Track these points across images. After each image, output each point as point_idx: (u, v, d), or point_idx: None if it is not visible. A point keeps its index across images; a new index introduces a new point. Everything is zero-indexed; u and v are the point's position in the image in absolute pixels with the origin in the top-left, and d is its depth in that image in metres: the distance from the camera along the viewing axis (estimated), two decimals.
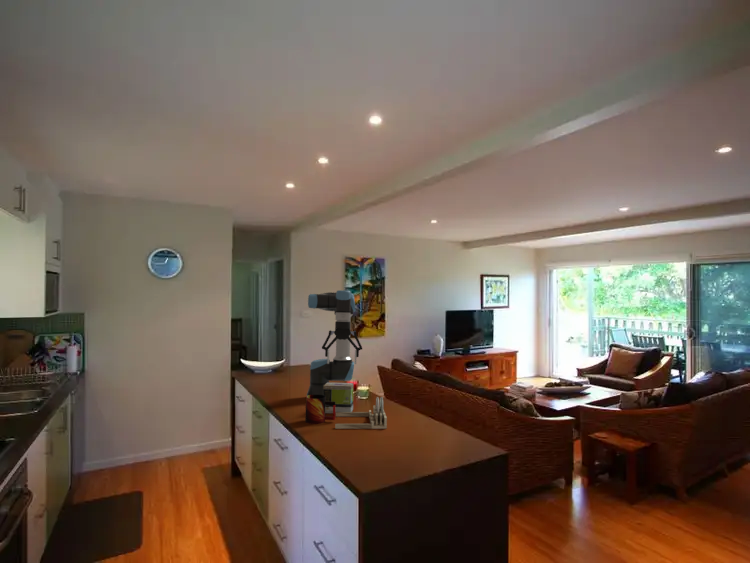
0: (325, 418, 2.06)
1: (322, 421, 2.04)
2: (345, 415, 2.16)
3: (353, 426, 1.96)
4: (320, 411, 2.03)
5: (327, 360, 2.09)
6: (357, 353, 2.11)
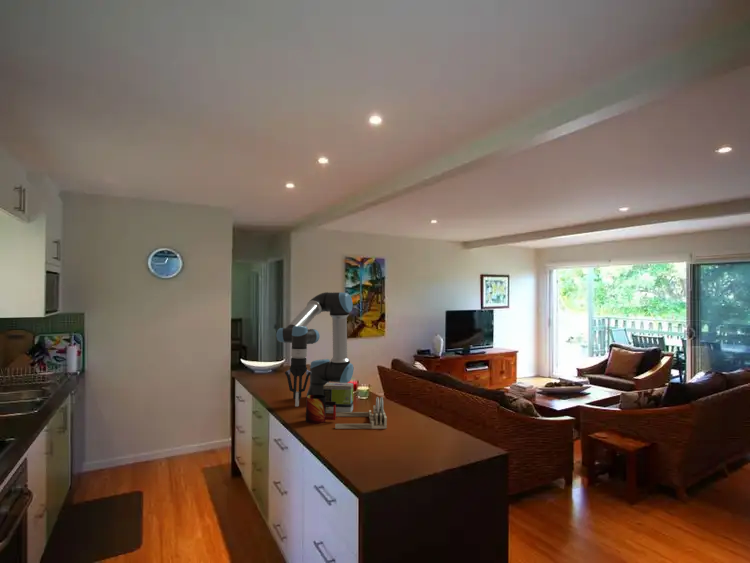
0: (325, 418, 2.06)
1: (322, 421, 2.04)
2: (345, 415, 2.16)
3: (353, 426, 1.96)
4: (321, 411, 2.03)
5: (295, 402, 2.05)
6: (299, 395, 2.06)
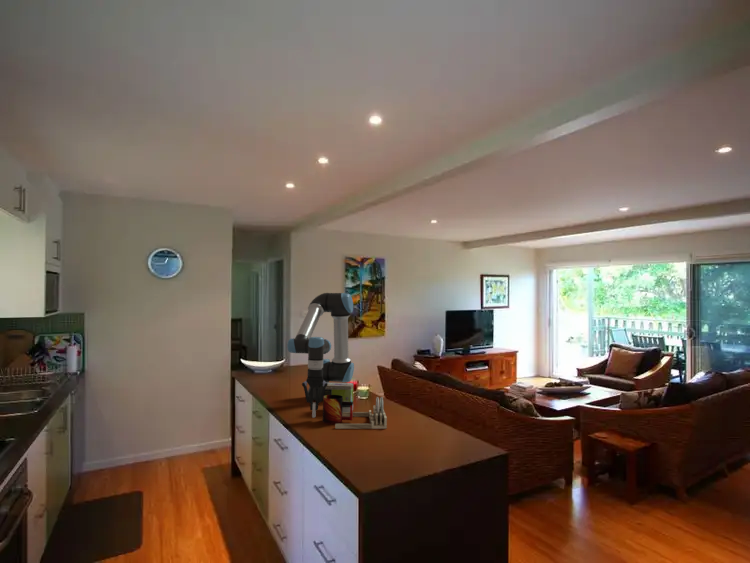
0: (342, 418, 2.06)
1: (339, 421, 2.04)
2: (345, 415, 2.16)
3: (353, 426, 1.96)
4: (337, 411, 2.03)
5: (312, 414, 2.06)
6: (316, 406, 2.07)
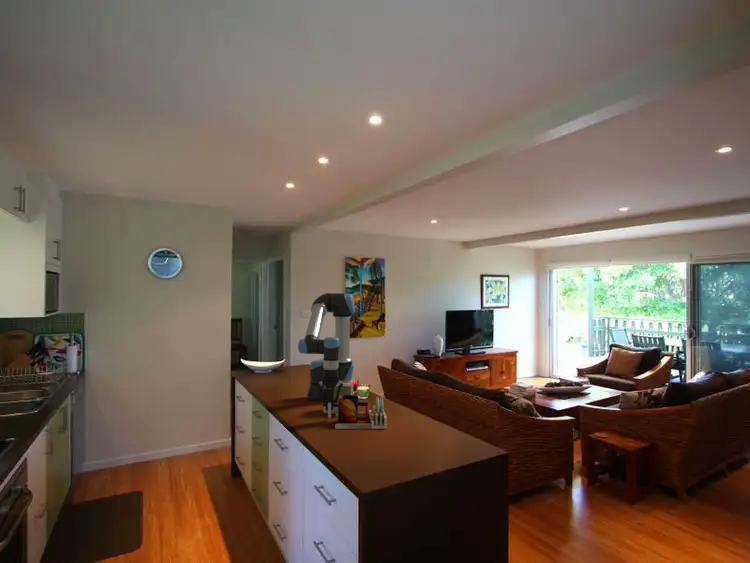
0: (358, 419, 2.05)
1: (354, 422, 2.04)
2: None
3: (353, 426, 1.96)
4: (353, 412, 2.03)
5: None
6: (332, 406, 2.08)
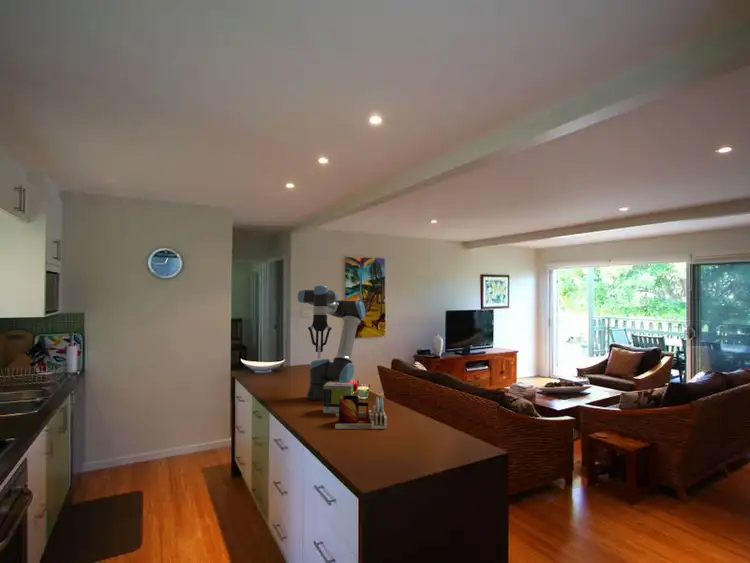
0: (358, 419, 2.05)
1: (355, 422, 2.04)
2: None
3: (353, 426, 1.96)
4: (353, 412, 2.03)
5: None
6: (321, 348, 2.26)
